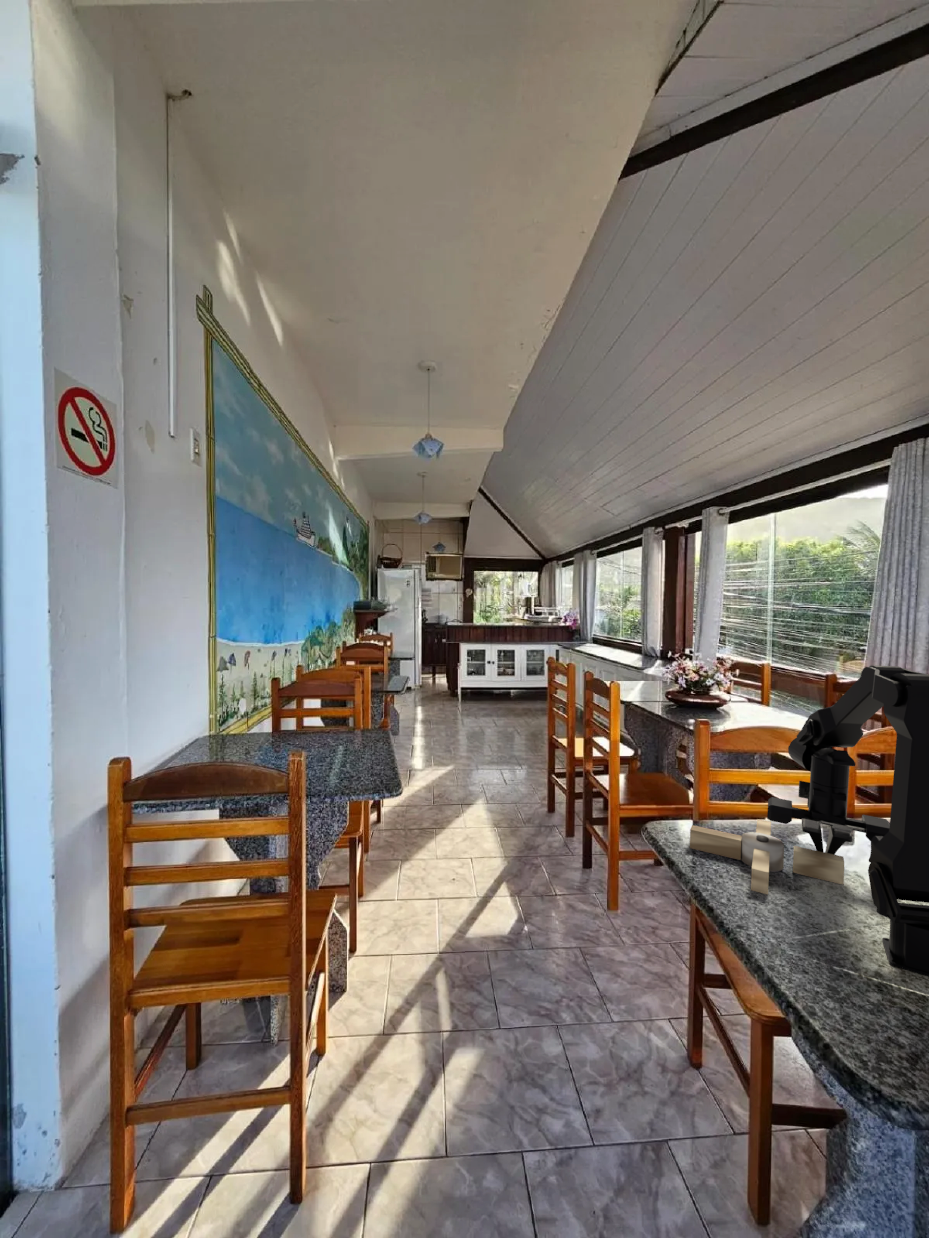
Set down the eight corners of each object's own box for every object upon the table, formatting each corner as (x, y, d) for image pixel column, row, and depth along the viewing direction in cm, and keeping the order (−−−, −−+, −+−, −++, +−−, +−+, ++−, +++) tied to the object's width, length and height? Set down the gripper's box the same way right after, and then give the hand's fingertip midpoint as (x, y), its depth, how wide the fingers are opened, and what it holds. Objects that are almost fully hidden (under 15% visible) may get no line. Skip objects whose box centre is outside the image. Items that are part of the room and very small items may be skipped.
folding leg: (792, 872, 95) (793, 850, 95) (793, 866, 97) (793, 845, 97) (843, 884, 91) (844, 862, 91) (842, 878, 93) (843, 856, 93)
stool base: (783, 900, 86) (784, 870, 86) (680, 872, 94) (681, 845, 94) (783, 843, 107) (783, 819, 107) (699, 825, 116) (699, 803, 116)
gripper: (886, 779, 97) (881, 860, 98) (770, 760, 107) (766, 834, 107) (897, 799, 87) (891, 889, 88) (769, 776, 97) (765, 857, 98)
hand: (823, 864), depth 96 cm, fingers closed, pressing on folding leg
